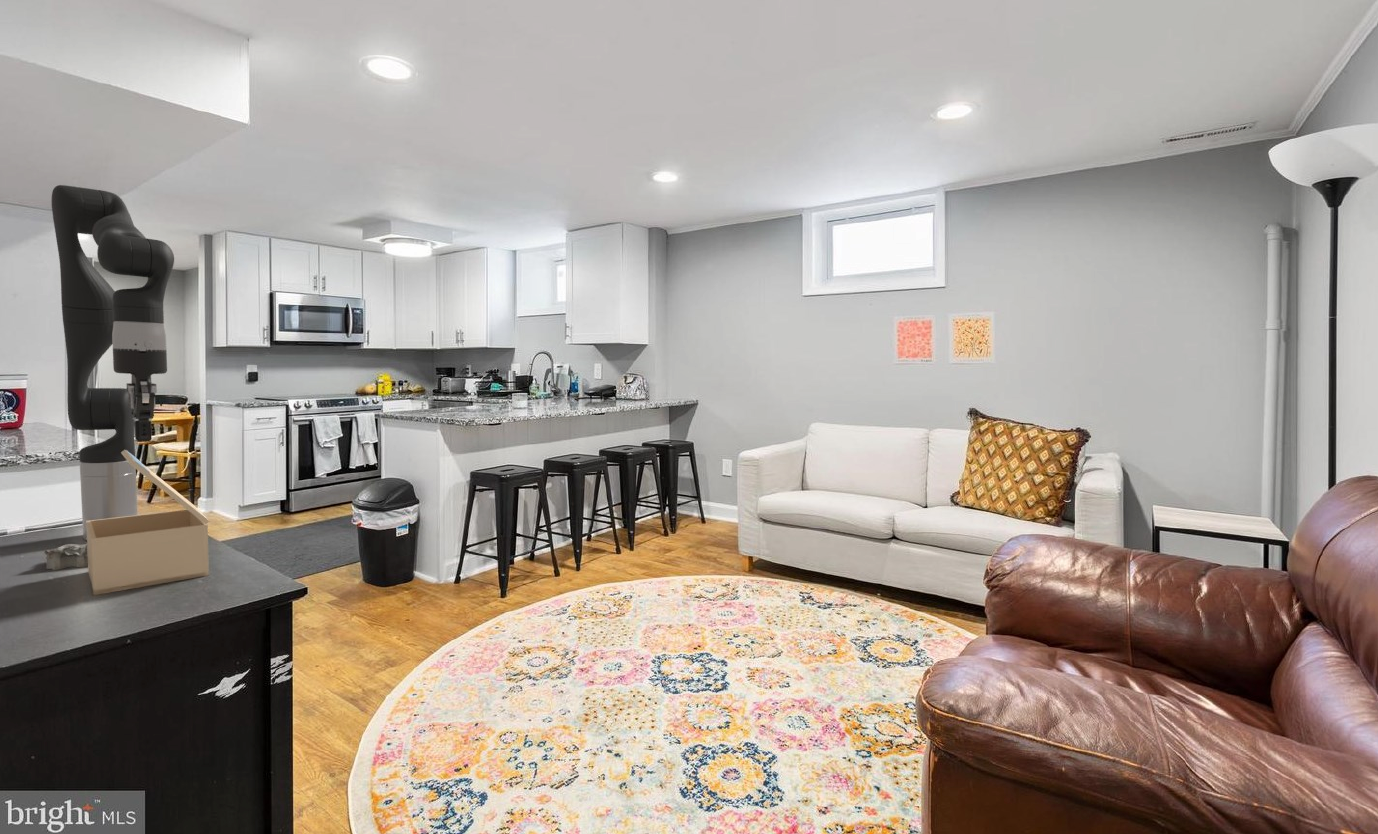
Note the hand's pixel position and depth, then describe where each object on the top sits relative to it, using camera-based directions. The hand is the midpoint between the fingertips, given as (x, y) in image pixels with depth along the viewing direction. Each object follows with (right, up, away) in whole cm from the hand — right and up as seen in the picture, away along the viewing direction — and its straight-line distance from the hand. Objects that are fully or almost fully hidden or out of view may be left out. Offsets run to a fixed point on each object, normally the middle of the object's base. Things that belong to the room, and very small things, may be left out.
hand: (143, 440), depth 119 cm
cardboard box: (-1, -25, +2) cm, 25 cm away
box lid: (+1, -9, +3) cm, 9 cm away
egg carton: (-18, -25, +7) cm, 31 cm away
